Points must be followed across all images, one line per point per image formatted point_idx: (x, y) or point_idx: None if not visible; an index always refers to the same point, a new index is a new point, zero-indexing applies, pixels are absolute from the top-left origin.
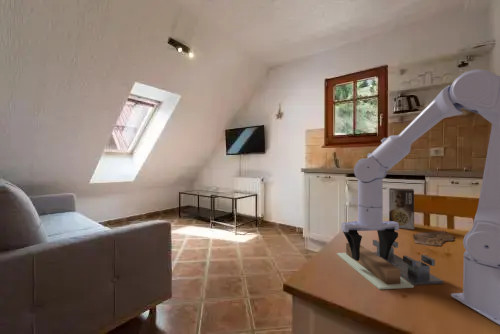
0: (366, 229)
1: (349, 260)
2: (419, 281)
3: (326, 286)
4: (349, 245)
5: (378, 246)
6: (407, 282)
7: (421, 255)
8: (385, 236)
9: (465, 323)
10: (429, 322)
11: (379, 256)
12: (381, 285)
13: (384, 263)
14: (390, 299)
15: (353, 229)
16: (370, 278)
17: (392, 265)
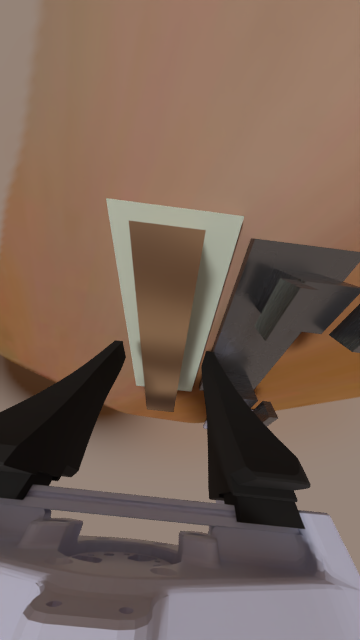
0: (104, 506)
1: (132, 293)
2: None
3: (56, 363)
4: (80, 368)
5: (259, 325)
6: (190, 385)
7: (268, 416)
8: (215, 456)
9: (180, 418)
10: (150, 413)
11: (256, 292)
12: (142, 383)
13: (162, 397)
14: (138, 394)
15: (13, 501)
16: (137, 369)
17: (172, 403)
